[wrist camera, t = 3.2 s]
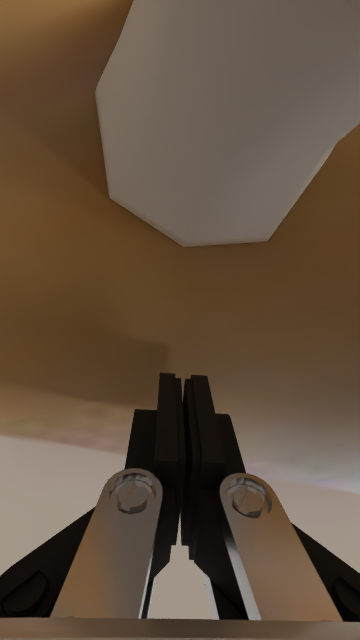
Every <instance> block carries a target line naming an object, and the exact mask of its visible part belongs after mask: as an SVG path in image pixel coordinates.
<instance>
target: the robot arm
mask: <svg viewBox="0 0 360 640" xmlns="http://www.w3.org/2000/svg"><path fill="white" fill-rule="evenodd" d="M179 516H181V517H180V518H181V543H182V545H184V546H185V545H186V546H188V547H189V559H190V560H194V562H195V564H196V565H197V566H198V567H199V568H200V569H201V570H202V571H203V572H204V573H205V575H204V577H205V586H206V591H207V595H208V600H209V604H210V609H211V613H212V618H213V620H211V619H210V620H209V619H208V620H207V619H148V617H149V611H150V605H151V599H152V594H153V588H154V581H155V576H156V575H157V574H158V573H159V572H160V571H161V570H162V569H163V568H164V567H165V566H166V565H167V563H169V561H170V553H171V545H176V541H177V533H178V523H179ZM0 640H360V573H358V572H357V571H356V570H354V569H353V568H351V567H350V566H349V565H347V564H346V563H345V562H343V561H342V560H341V559H339V558H338V557H337V556H335V555H334V554H333V553H331V552H330V551H329V550H327V549H326V548H325V547H323V546H322V545H321V544H319V543H318V542H317V541H315V540H314V539H312V538H311V537H310V536H308V535H307V534H305V533H304V532H303V531H302V530H300V529H299V528H298V527H296V526H295V525H294V524H292V523H291V522H290V520H289V518H288V516H287V514H286V513H285V511H284V509H283V507H282V505H281V503H280V501H279V499H278V497H277V496H276V494H275V492H274V491H273V489H272V488H271V487H270V486H269V485H268V484H267V483H266V482H265V481H264V480H262V479H260V478H258V477H257V476H254V475H251V474H248V473H246V471H245V467H244V464H243V460H242V457H241V453H240V450H239V446H238V443H237V439H236V436H235V432H234V429H233V425H232V422H231V418H230V416H229V415H228V414H215V410H214V405H213V400H212V396H211V391H210V387H209V382H208V377H207V376H201V375H191V379H185V385H184V394H183V403H182V387H181V378H175V374H169V373H160V379H159V393H158V406H157V410H142V409H135V411H134V417H133V423H132V429H131V434H130V440H129V446H128V452H127V458H126V464H125V469H124V470H122V471H120V472H118V473H116V474H114V475H113V476H112V477H111V478H110V479H109V480H108V481H107V483H106V484H105V486H104V488H103V490H102V493H101V495H100V498H99V500H98V503H97V505H96V507H94V508H93V509H91V510H90V511H89V512H87V513H86V514H84V515H83V516H82V517H80V518H79V519H77V520H76V521H74V522H73V523H72V524H70V525H69V526H67V527H66V528H65V529H63V530H62V531H60V532H59V533H58V534H56V535H55V536H53V537H52V538H51V539H49V540H48V541H46V542H45V543H44V544H42V545H41V546H39V547H38V548H37V549H35V550H34V551H32V552H31V553H29V554H28V555H27V556H25V557H24V558H22V559H21V560H20V561H18V562H17V563H16V564H14V565H13V566H11V567H10V568H9V569H8V570H7V571H5V572H4V573H3V574H2V575H1V576H0Z"/></svg>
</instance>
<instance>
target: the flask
mask: <svg viewBox="0 0 360 640" xmlns="http://www.w3.org/2000/svg"><path fill="white" fill-rule="evenodd" d="M95 96H96V104H97V111H98V119H99V126H100V133H101V141H102V148H103V155H104V163H105V170H106V177H107V185H108V192H109V198H110V199H112V200H113V201H115V202H116V203H118V204H119V205H121V206H122V207H124V208H125V209H127V210H128V211H130V212H131V213H133V214H134V215H136V216H137V217H139V218H140V219H142V220H143V221H145V222H146V223H148V224H149V225H151V226H152V227H154V228H155V229H157V230H158V231H160V232H161V233H163V234H164V235H166V236H167V237H169V238H170V239H172V240H173V241H175V242H176V243H178V244H179V245H181V246H183V247H193V246H207V245H222V244H236V243H250V242H265V241H268V240H269V238H270V237H271V236H272V234H273V233H274V231H275V230H276V229H277V227H278V226H279V225H280V223H281V222H282V220H283V219H284V218H285V216H286V215H287V214H288V212H289V211H290V209H291V208H292V207H293V205H294V204H295V203H296V201H297V200H298V198H299V197H300V196H301V194H302V193H303V192H304V190H305V189H306V187H307V186H308V185H309V183H310V182H311V181H312V179H313V178H314V176H315V175H316V174H317V172H318V171H319V170H320V168H321V167H322V165H323V164H324V163H325V161H326V160H327V158H328V157H329V155H330V154H331V152H332V150H333V148H334V146H335V144H336V143H337V142H339V141H340V140H341V139H342V138H343V137H344V136H346V135H347V134H348V133H349V132H350V131H351V130H353V129H354V128H355V127H356V126H357V125H358V124H360V0H134V1H133V3H132V6H131V8H130V11H129V14H128V16H127V19H126V22H125V24H124V27H123V29H122V32H121V35H120V37H119V40H118V42H117V44H116V46H115V48H114V50H113V53H112V55H111V57H110V59H109V61H108V63H107V65H106V68H105V70H104V72H103V74H102V76H101V78H100V80H99V82H98V85H97V88H96V90H95Z"/></svg>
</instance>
